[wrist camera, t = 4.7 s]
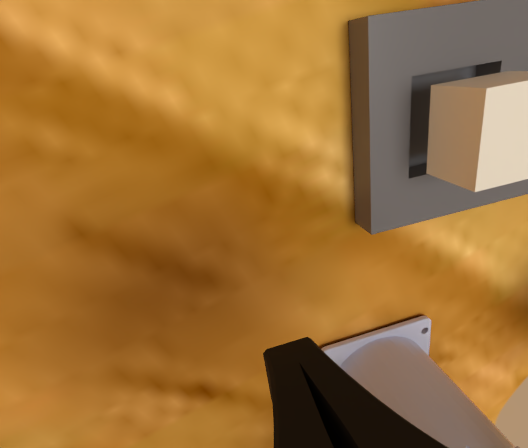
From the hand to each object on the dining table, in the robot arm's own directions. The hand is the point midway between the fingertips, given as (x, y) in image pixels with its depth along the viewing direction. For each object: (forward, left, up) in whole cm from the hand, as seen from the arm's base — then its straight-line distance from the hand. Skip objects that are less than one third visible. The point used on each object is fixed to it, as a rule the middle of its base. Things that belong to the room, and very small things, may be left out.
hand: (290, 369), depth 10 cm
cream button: (+4, -12, -7) cm, 14 cm away
